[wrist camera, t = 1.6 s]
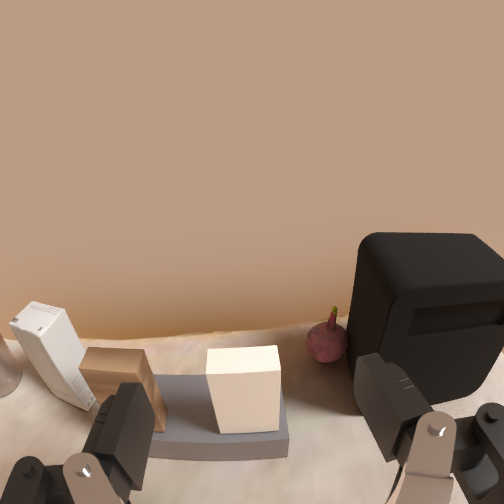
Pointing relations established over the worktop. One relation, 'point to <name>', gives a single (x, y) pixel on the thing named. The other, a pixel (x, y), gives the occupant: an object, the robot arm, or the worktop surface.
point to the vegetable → (327, 340)
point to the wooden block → (245, 388)
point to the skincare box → (54, 351)
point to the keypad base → (208, 427)
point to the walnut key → (122, 376)
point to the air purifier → (429, 309)
